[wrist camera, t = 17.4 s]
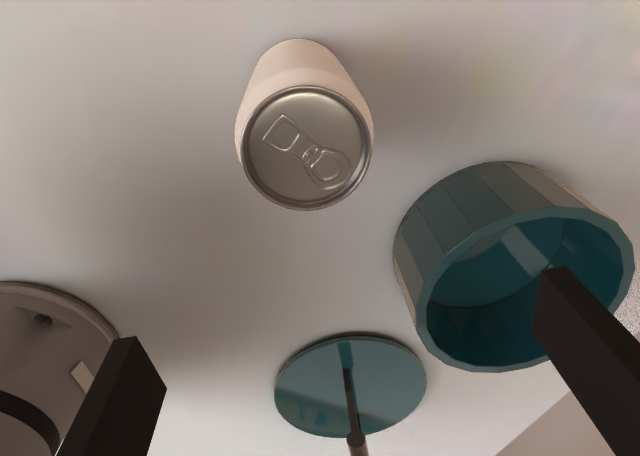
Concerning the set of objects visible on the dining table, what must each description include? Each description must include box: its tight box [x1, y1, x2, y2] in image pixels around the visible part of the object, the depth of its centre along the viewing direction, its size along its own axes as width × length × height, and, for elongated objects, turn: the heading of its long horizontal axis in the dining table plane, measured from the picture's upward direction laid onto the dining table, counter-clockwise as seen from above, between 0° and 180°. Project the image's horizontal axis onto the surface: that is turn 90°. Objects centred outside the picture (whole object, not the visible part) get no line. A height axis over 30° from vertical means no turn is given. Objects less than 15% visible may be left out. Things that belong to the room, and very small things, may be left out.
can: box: [235, 39, 374, 211], centre depth 22 cm, size 6×6×12 cm
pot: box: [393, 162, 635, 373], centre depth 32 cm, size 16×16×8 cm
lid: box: [274, 336, 427, 456], centre depth 40 cm, size 17×17×10 cm
